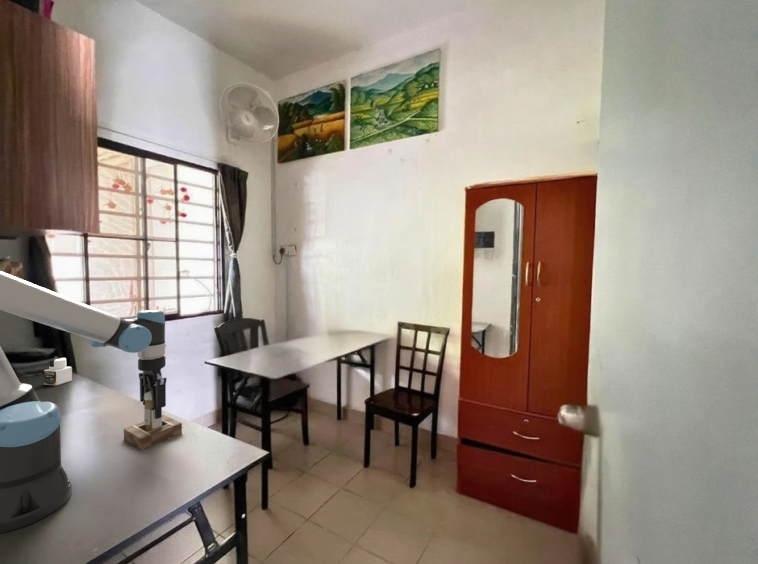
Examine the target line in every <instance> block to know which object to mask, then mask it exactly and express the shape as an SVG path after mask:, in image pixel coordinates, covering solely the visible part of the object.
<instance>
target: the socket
mask: <svg viewBox="0 0 758 564" xmlns="http://www.w3.org/2000/svg"><path fill="white" fill-rule="evenodd" d="M182 424H183V423H182V422H181V421H178V420H177V419H175V418H171V417H169V416H168V415H165V414H162V426H161V427H159V428H157V429H154V430H151V431H149V432H146V425H144V421H142V422H138V423H136V424H132V425H131V426H128V427H125V428H123V440H124V441H126V442H128V443H130V445H133V446H134V447H136V448H138V449H140V451H141V450H144V449H147V448H149V447H151V446H154V445H156V444H158V443H162V442H164V441H166V440H168V438H169V439H171V438H173V437H176V436H178V435H180V434H179V433H181V434H182V433H183V425H182ZM177 434H178V435H177ZM175 435H176V436H175Z"/></svg>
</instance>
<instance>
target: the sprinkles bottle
mask: <svg viewBox="0 0 758 564" xmlns="http://www.w3.org/2000/svg"><path fill="white" fill-rule="evenodd" d="M144 399H145V424H146V432H149V431H151V430H154V429H152V411H151V409H152V408H153V403H152V395H151V391H149V392H147V393H145V394H144ZM158 428H159V427H158ZM155 429H157V428H155Z"/></svg>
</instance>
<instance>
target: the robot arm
mask: <svg viewBox="0 0 758 564" xmlns="http://www.w3.org/2000/svg"><path fill="white" fill-rule="evenodd" d="M0 311H3V312H5V313H8V314H11V315H14V316H18V317H20V318H24V319H25V320H26V319H27V320H31V321H33V322H36V323H39V324H43V325H45V326H49V327H51V328H53V329H56V330H61V331H65V332H67V333H69V334H73V335H77V336H79V337H82V338H85V339H88V344H89V345H90V346H91V347H93V348H105V347H108V346H109V347H112V348H116V349H119V350H120V351H123V352H126V353H132V354H134V353H137V358H138V359H137V368H138V371H141V372H138V379H139V401H140V403H142V405H143V416H144V417H143V419H144V421H143V422H144V425H146V424H145V399H144V394H145V393H147V392H149V391H151V395H152V403H153V408H152V409H151V411H152V429H155V428H158V427H161V426H162V415H163V412H162V411H163V408H165V407H166V406H167V403H166V402H167V400H166V399H167V397H166V395H167V393H166V390H167V389H166V388H167V387H166V386H167V385H166V383H167V377H163V375H162V369H164V367H166V366H167V365H166V356H165V355H166V347H167V345H166V319H165V318H166V317H165V311H163V310H160V309H147V310H146V309H145V310H140V311H138V312H137V314H136V316H135V317H133V318H125V319H123V318H121V317H119V316H116V315H114V314H111V313H108V312H105V311H104V310H100V309H98V308H95V307H92V306H91V305H88V304H86V303H82V302H80V301H77V300H75V299H72V298H71V297H70V298H69V297H67V296H65V295H63V294H60V293H57V292H56V291H52V290H51V289H48V288H46V287H42V286H39V285H37V284H34V283H33V282H30V281H27V280H24V279H22V278H19V277H17V276H14V275H11V274H10V273H6V272H4V271H1V270H0ZM61 421H62V415H61V412H60V408H59V406H58V405H57V404H56V403H53V402H50V401H41V400H40V399H39V397H38V395H37V393H36V391H35V389H34V387H33V385H32V384H29V383H22V382H20V380H19V378H18V377H17V374H16V372H15V370H14V369H13V367H12V364H11V363H10V361H9V359H8V358H7V356H6V354H5V352H4V351H3V349H2V346H0V534H2V533H6V532H10V531H14V530H17V529H21V528H23V527H25V526H29V525H31V524H34V523H36V522H38V521H40V520H42V519H44V518H46V517H47V516H50V515H51V514H53V513H54V512H56V511H58V510H59V509H61V508H62V507H63V506H64V505H65V504H66V503H67V502H68V501H69V500H70V498H71V497H72V495H73V485H72V482H71V480H70V479H69V478H68V475H67V473H66V471H65V470H64V467H63V466H62V449H61V448H62V446H61V445H62V443H61Z"/></svg>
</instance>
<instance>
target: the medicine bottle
mask: <svg viewBox="0 0 758 564" xmlns="http://www.w3.org/2000/svg"><path fill="white" fill-rule="evenodd" d="M72 381H73V368H72V366H67V358H66V357H56V358H52V359H50V360H48V369H44V370H43V382H44V384H43V385H45V386H46V385H49V386H59V385H62V384H65V383H69V382H72Z"/></svg>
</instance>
